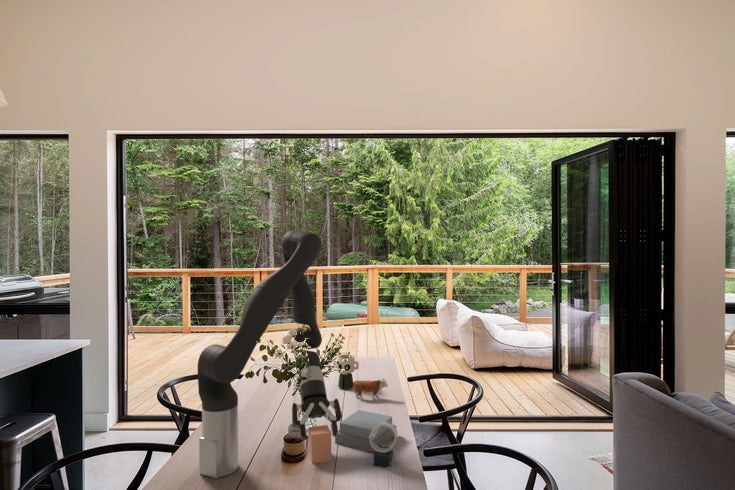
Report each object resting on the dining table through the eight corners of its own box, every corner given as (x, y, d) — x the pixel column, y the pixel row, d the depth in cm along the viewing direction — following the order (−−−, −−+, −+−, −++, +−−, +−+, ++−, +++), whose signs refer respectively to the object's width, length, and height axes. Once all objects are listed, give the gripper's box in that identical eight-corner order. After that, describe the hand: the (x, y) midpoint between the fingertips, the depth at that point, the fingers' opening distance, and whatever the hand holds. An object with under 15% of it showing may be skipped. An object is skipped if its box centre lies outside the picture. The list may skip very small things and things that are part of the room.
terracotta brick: (331, 460, 133) (331, 432, 132) (311, 463, 131) (311, 435, 131) (327, 452, 138) (327, 424, 138) (308, 454, 136) (308, 427, 136)
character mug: (330, 389, 193) (330, 357, 193) (336, 383, 200) (336, 353, 200) (355, 391, 190) (355, 359, 190) (360, 386, 197) (361, 355, 197)
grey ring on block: (371, 455, 135) (371, 417, 135) (398, 459, 134) (399, 420, 133) (366, 465, 130) (366, 425, 130) (395, 468, 128) (395, 428, 128)
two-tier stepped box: (376, 453, 137) (376, 432, 137) (335, 443, 144) (335, 423, 144) (396, 434, 150) (396, 415, 149) (357, 426, 156) (357, 408, 156)
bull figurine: (388, 401, 180) (388, 379, 179) (352, 400, 180) (352, 379, 180) (387, 397, 184) (387, 376, 184) (353, 396, 184) (353, 376, 184)
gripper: (290, 380, 140) (296, 435, 129) (337, 376, 144) (346, 428, 134) (287, 392, 145) (293, 446, 134) (333, 388, 149) (342, 439, 139)
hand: (320, 437), depth 134 cm, fingers open, 8 cm apart
